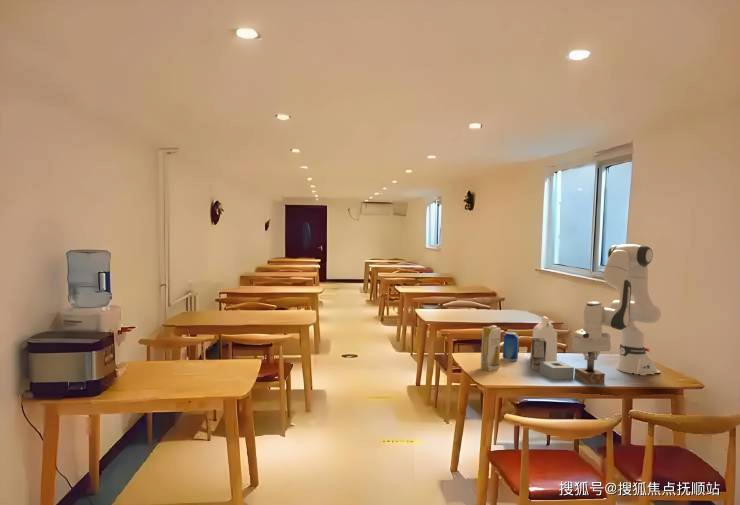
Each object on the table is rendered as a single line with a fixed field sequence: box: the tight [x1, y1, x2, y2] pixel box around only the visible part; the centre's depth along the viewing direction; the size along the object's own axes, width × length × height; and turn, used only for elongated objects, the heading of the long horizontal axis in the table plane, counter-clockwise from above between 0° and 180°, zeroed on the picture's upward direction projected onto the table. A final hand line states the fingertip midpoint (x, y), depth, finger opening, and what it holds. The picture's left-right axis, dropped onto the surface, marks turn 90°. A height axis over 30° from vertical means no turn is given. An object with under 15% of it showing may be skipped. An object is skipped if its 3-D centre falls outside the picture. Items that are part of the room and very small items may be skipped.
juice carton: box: [480, 325, 502, 372], centre depth 254 cm, size 9×8×24 cm
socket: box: [539, 360, 575, 381], centre depth 247 cm, size 12×12×6 cm
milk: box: [529, 316, 558, 361], centre depth 275 cm, size 12×12×26 cm
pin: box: [586, 351, 595, 372], centre depth 241 cm, size 4×4×13 cm
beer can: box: [502, 331, 520, 362], centre depth 275 cm, size 8×8×16 cm
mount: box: [573, 367, 606, 385], centre depth 241 cm, size 10×10×5 cm
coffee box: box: [530, 338, 546, 372], centre depth 259 cm, size 9×6×16 cm
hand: (590, 359), depth 241 cm, fingers closed on pin, 3 cm apart
